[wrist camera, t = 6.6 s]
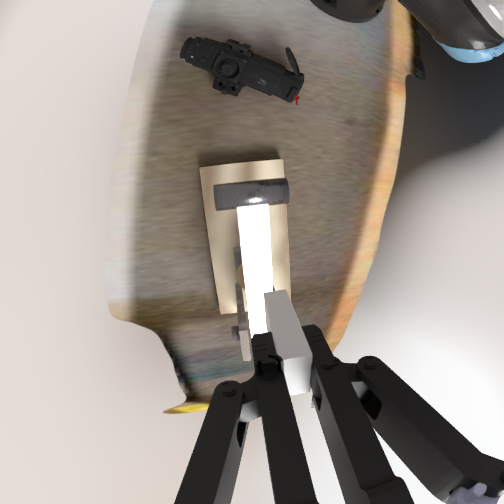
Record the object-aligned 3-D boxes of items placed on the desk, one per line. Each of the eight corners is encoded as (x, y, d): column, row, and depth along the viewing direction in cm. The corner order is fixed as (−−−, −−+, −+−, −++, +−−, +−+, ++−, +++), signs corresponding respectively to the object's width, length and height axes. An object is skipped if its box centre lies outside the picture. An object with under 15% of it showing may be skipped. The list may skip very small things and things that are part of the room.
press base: (280, 159, 40) (308, 161, 26) (288, 299, 48) (310, 353, 34) (200, 167, 39) (186, 173, 25) (220, 308, 48) (220, 366, 34)
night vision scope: (188, 63, 36) (207, 12, 27) (289, 103, 40) (319, 56, 32) (168, 80, 31) (187, 19, 23) (285, 125, 35) (321, 70, 27)
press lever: (283, 174, 27) (289, 181, 25) (285, 324, 37) (289, 338, 35) (213, 181, 27) (212, 189, 24) (235, 331, 37) (236, 345, 35)
